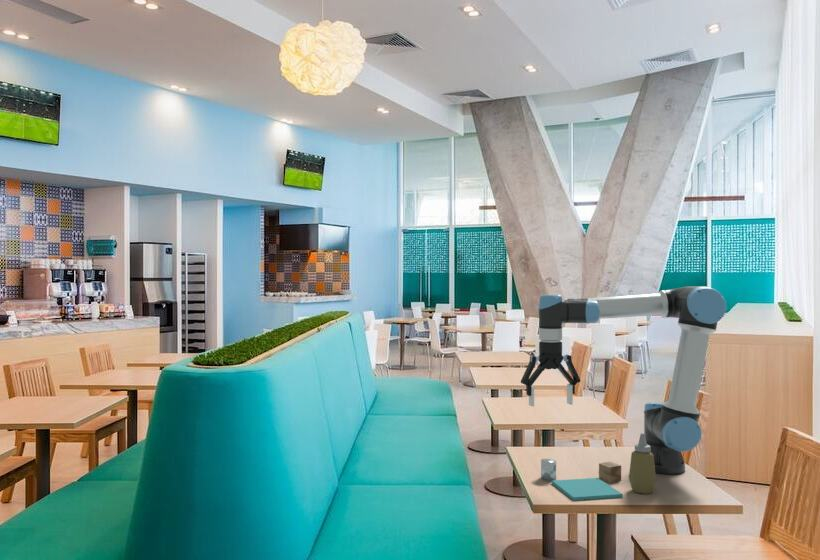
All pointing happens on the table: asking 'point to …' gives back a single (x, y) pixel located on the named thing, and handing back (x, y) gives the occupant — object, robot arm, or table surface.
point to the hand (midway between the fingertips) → (550, 404)
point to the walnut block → (610, 471)
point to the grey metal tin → (548, 469)
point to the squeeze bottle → (642, 468)
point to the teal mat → (586, 489)
